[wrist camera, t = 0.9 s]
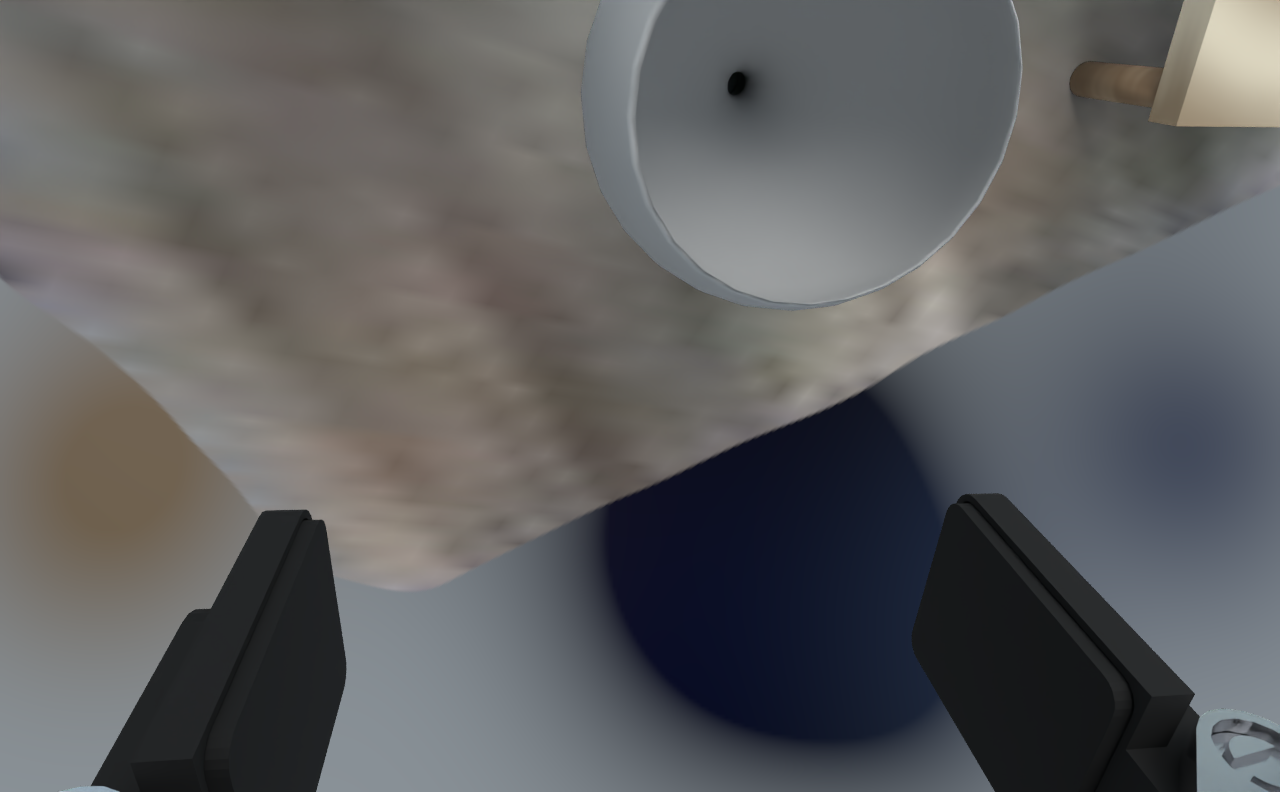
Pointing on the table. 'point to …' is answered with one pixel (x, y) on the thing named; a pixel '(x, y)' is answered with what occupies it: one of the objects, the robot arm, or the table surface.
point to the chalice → (798, 136)
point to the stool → (1203, 69)
